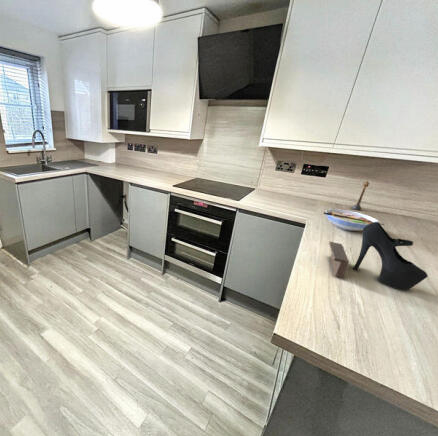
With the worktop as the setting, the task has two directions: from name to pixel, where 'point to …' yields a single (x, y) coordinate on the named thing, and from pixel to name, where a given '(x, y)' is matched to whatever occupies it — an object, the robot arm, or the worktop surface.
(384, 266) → the high-heeled shoe
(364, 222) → the ramen bowl
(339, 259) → the shoe rack rail
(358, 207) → the wooden tabletop sculpture
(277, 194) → the worktop surface
